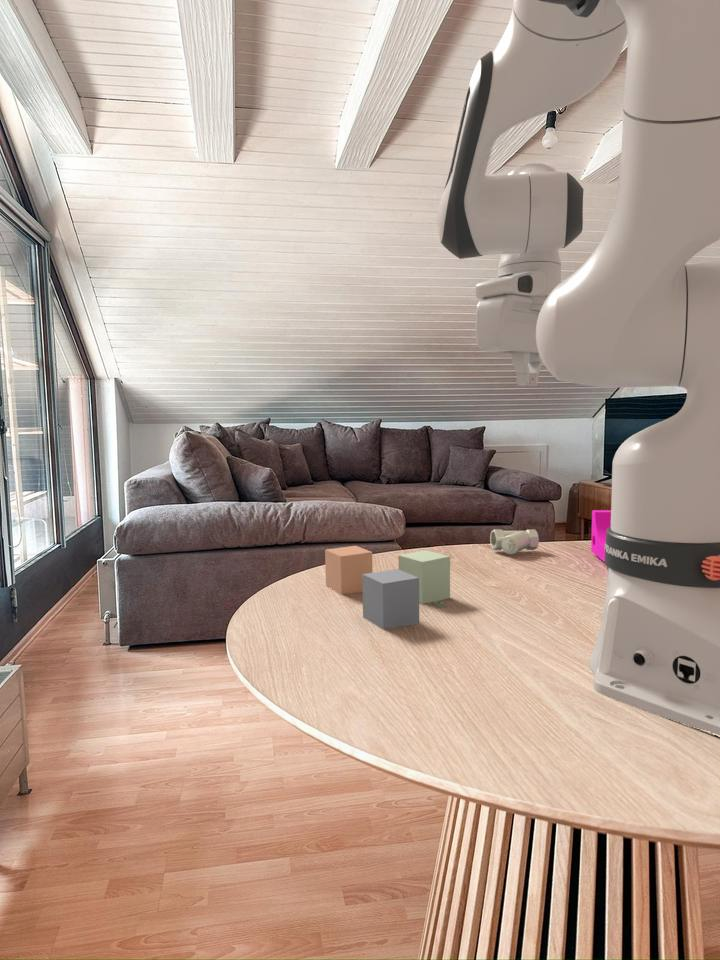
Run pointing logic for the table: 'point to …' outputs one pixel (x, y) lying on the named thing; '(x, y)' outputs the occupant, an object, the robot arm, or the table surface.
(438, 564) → the sage block
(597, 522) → the magenta curved bracket
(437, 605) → the small gray-green block
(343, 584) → the terracotta block
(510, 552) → the pipe fitting
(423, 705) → the table surface
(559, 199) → the robot arm
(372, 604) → the slate block
